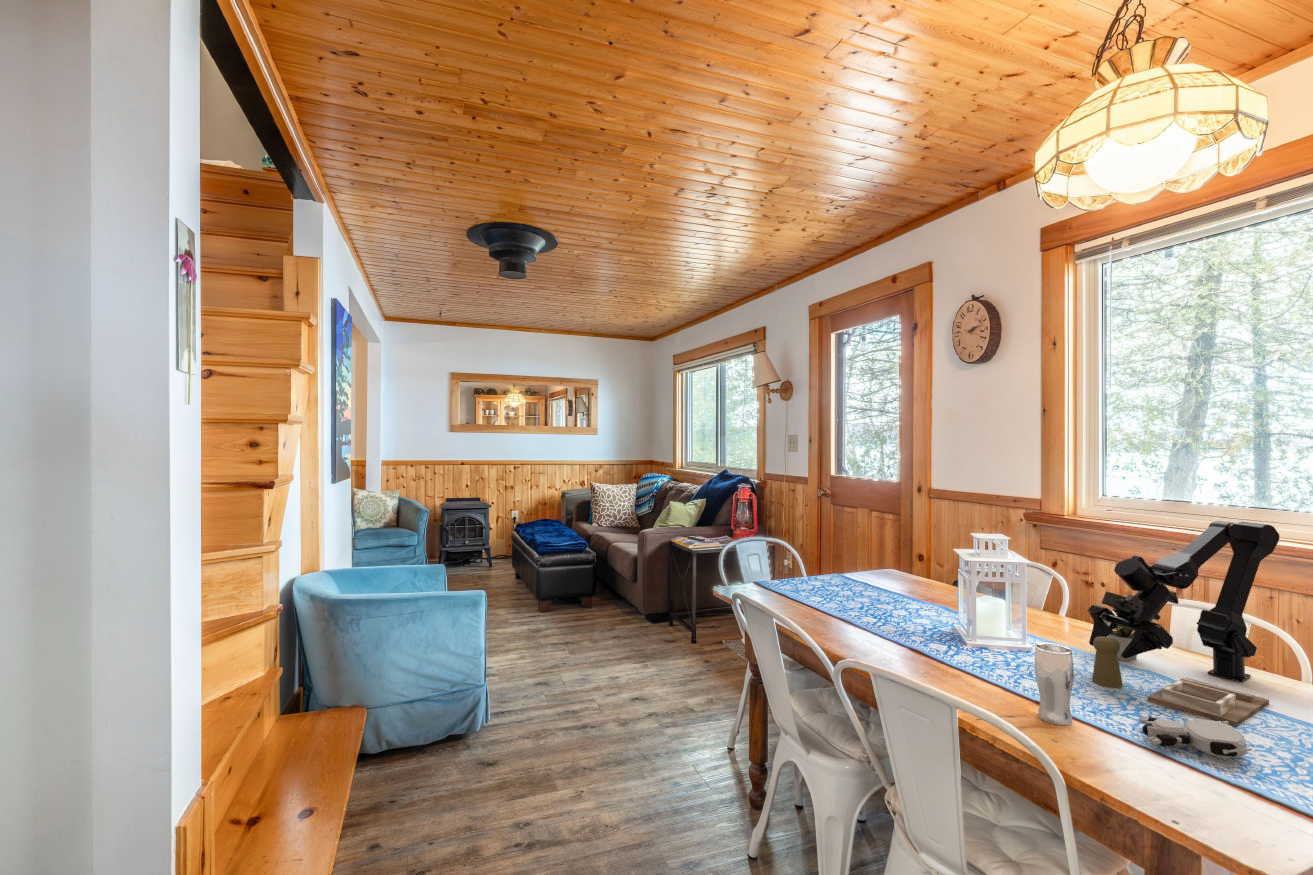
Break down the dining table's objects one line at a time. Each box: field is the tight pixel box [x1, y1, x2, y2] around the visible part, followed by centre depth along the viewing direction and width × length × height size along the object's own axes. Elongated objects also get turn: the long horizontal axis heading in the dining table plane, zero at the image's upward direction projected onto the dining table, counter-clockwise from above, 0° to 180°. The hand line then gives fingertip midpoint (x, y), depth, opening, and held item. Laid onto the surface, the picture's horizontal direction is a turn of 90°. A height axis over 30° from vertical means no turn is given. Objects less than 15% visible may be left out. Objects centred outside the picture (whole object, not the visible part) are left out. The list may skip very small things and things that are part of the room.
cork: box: [1091, 636, 1124, 689], centre depth 146 cm, size 6×6×11 cm
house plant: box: [1089, 598, 1138, 662], centre depth 164 cm, size 14×14×16 cm
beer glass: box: [1034, 642, 1075, 726], centre depth 128 cm, size 7×7×15 cm
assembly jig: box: [1147, 677, 1270, 727], centre depth 134 cm, size 20×15×4 cm
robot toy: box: [1138, 716, 1253, 760], centre depth 115 cm, size 12×4×15 cm
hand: (1106, 650), depth 146 cm, fingers open, 9 cm apart
